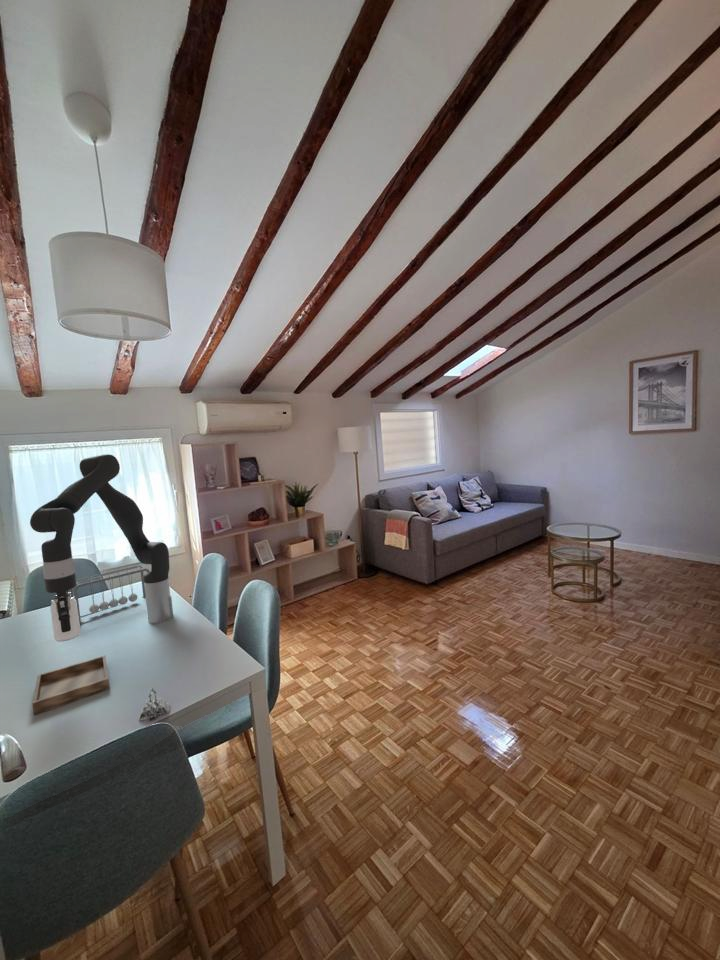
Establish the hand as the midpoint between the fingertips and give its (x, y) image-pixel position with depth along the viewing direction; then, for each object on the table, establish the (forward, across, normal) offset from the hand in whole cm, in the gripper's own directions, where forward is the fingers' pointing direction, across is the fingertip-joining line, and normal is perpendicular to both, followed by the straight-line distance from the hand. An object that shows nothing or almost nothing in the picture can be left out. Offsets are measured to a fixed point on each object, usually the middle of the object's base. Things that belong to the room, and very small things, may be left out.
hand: (66, 627), depth 122 cm
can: (+3, 0, 0) cm, 3 cm away
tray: (+19, 0, 0) cm, 19 cm away
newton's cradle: (+20, +63, -15) cm, 67 cm away
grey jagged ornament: (+20, -34, -16) cm, 42 cm away
